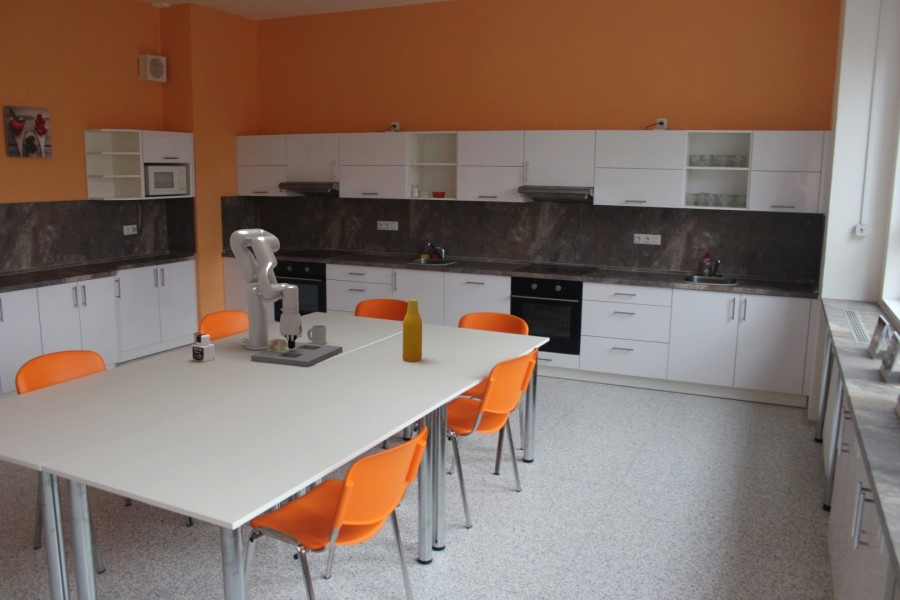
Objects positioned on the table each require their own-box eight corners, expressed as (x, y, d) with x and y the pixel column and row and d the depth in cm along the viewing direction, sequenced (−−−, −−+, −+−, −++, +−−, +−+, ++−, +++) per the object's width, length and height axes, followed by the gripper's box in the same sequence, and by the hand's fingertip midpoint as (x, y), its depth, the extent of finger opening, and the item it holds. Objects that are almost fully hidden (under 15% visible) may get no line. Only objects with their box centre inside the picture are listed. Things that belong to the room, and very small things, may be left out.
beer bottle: (417, 362, 361) (418, 302, 356) (399, 361, 364) (400, 300, 359) (424, 358, 370) (425, 299, 365) (406, 356, 373) (407, 297, 368)
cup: (323, 345, 394) (322, 328, 393) (304, 344, 396) (304, 327, 395) (328, 342, 401) (328, 325, 400) (310, 341, 403) (310, 324, 402)
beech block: (268, 350, 370) (268, 341, 369) (274, 347, 375) (274, 338, 375) (280, 351, 368) (279, 342, 367) (285, 348, 374) (285, 339, 373)
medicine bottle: (192, 360, 357) (191, 335, 355) (203, 357, 364) (203, 332, 362) (203, 362, 354) (202, 336, 352) (215, 359, 360) (214, 334, 358)
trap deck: (251, 360, 359) (251, 355, 358) (289, 346, 390) (289, 341, 390) (308, 367, 349) (308, 361, 349) (342, 351, 381) (342, 346, 380)
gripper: (272, 311, 366) (273, 349, 369) (300, 313, 361) (301, 351, 364) (281, 308, 373) (282, 346, 376) (308, 310, 368) (309, 348, 371)
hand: (291, 348), depth 370 cm, fingers closed
